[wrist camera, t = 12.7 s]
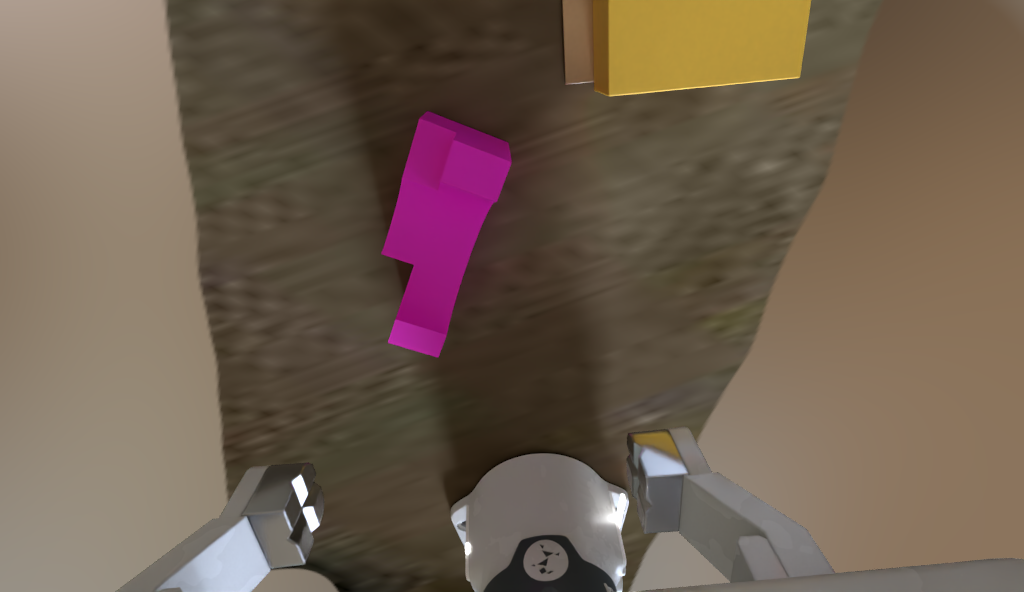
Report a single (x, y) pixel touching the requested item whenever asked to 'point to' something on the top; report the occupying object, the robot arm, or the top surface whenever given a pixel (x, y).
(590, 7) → the cork pad
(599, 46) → the yellow block
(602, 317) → the top surface
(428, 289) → the magenta u-shaped bracket
